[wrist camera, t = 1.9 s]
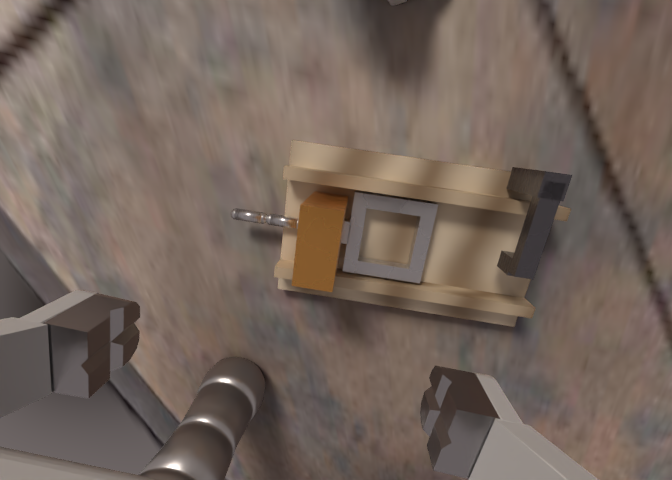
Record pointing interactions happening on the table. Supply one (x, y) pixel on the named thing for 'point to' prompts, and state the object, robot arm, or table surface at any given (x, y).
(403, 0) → the grey rounded slab
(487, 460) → the robot arm
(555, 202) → the keeper hook
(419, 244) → the chain end link
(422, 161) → the guide board
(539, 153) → the table surface
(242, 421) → the plastic bottle
